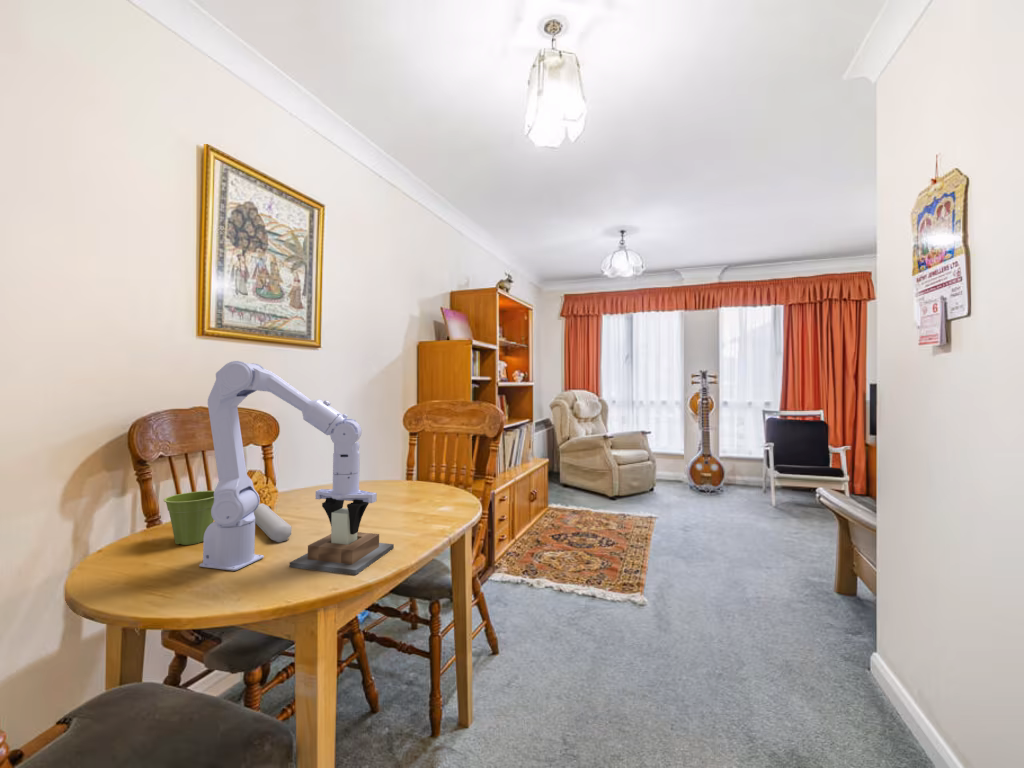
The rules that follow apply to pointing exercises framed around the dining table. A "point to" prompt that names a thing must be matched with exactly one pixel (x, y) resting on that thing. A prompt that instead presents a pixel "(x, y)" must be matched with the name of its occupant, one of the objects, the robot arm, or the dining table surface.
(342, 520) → the peg
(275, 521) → the tube
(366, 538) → the socket
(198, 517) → the plant pot
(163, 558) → the dining table surface
